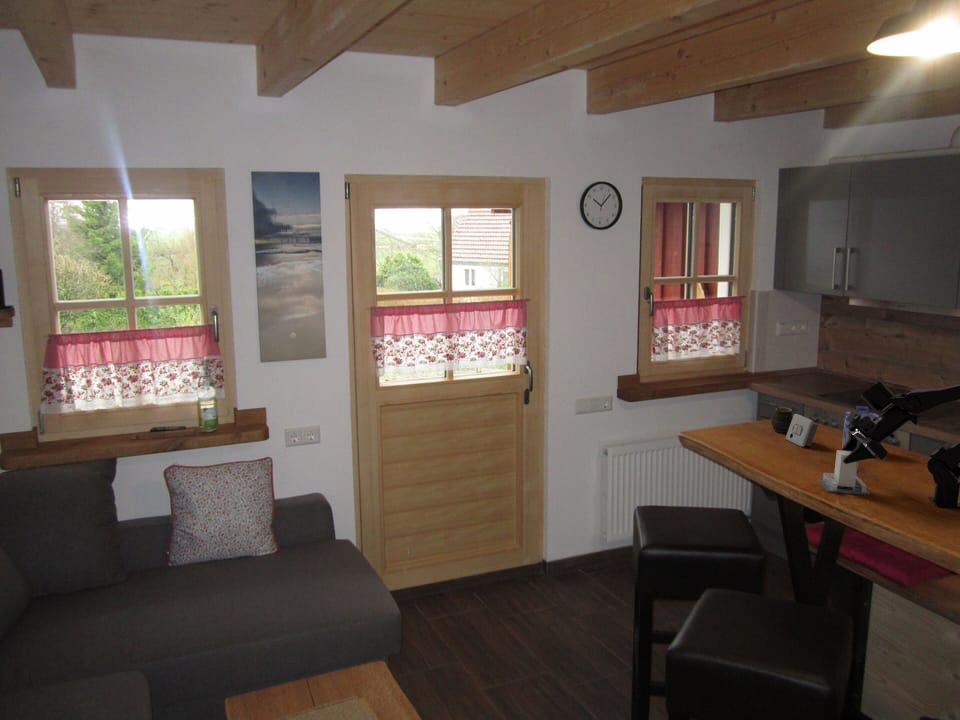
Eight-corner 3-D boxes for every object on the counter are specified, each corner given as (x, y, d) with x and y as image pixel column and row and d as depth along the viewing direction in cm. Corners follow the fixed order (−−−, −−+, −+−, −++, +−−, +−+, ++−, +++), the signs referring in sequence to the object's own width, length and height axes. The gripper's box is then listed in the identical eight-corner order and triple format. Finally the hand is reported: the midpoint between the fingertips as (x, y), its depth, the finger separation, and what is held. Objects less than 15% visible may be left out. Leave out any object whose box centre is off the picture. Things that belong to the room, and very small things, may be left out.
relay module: (855, 487, 219) (859, 456, 217) (838, 486, 219) (841, 455, 218) (850, 481, 223) (854, 451, 221) (833, 480, 224) (836, 450, 222)
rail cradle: (870, 495, 216) (871, 486, 215) (828, 492, 217) (828, 483, 217) (858, 482, 226) (859, 474, 225) (818, 479, 227) (818, 471, 227)
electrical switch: (784, 439, 266) (789, 413, 265) (798, 440, 267) (803, 413, 266) (801, 448, 257) (807, 420, 256) (815, 448, 258) (820, 421, 257)
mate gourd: (797, 432, 275) (800, 404, 273) (783, 435, 271) (786, 407, 269) (780, 427, 281) (782, 400, 278) (766, 430, 277) (768, 403, 275)
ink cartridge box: (872, 449, 257) (878, 406, 254) (877, 454, 252) (883, 410, 249) (840, 446, 259) (845, 404, 256) (844, 452, 254) (849, 408, 251)
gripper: (857, 394, 225) (813, 429, 229) (880, 411, 207) (831, 449, 211) (883, 422, 226) (838, 457, 229) (908, 441, 208) (859, 479, 211)
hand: (841, 459), depth 220 cm, fingers open, 5 cm apart
